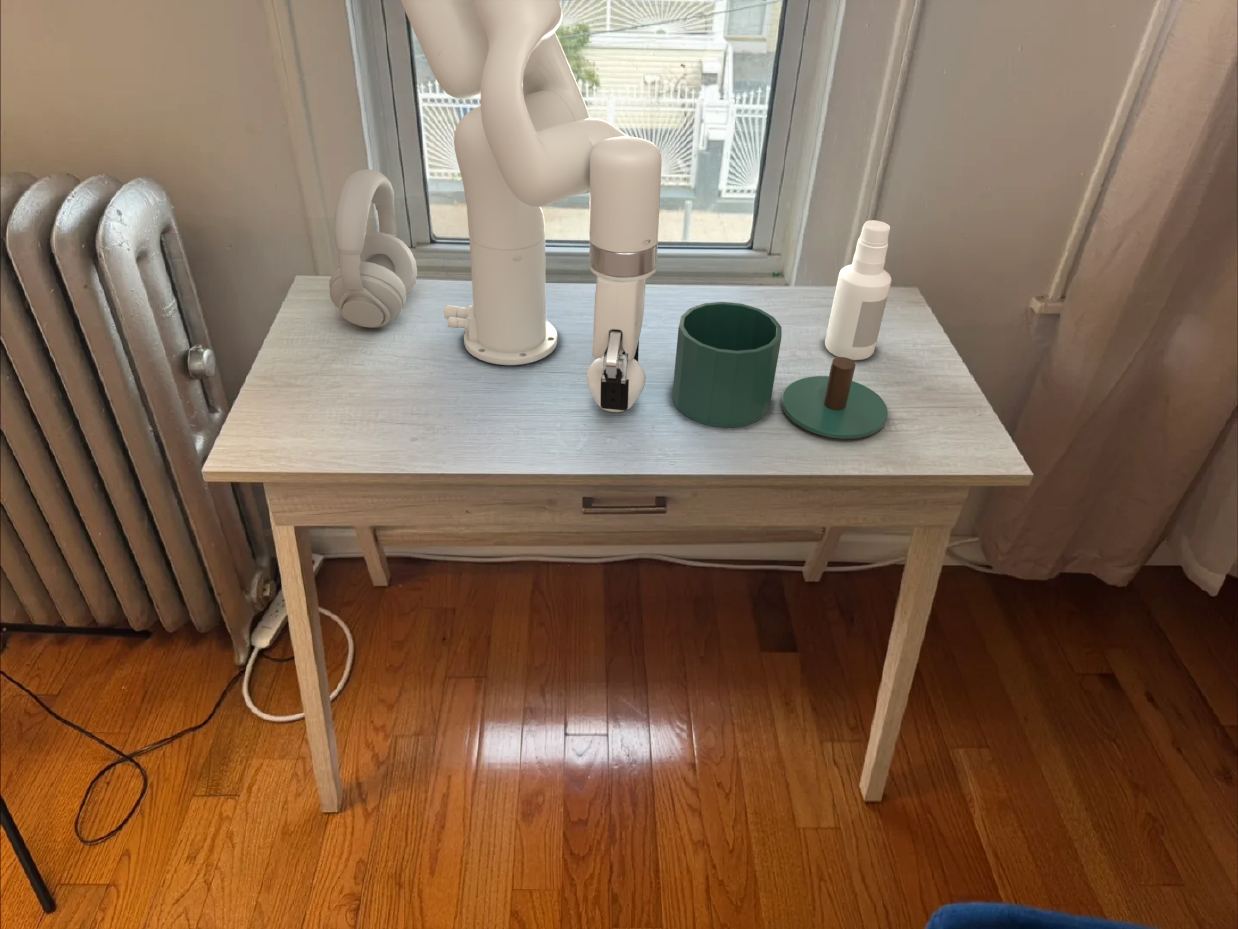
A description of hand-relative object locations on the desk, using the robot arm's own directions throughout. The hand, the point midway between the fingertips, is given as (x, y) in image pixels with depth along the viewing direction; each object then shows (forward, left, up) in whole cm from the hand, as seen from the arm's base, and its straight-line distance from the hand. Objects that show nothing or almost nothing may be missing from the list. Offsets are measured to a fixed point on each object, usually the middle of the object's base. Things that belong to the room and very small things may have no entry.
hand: (619, 386), depth 112 cm
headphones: (-37, +16, -3) cm, 40 cm away
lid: (+26, +4, -2) cm, 27 cm away
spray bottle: (+29, +20, -3) cm, 36 cm away
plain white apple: (-1, 0, -3) cm, 3 cm away
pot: (+12, +4, -3) cm, 13 cm away
